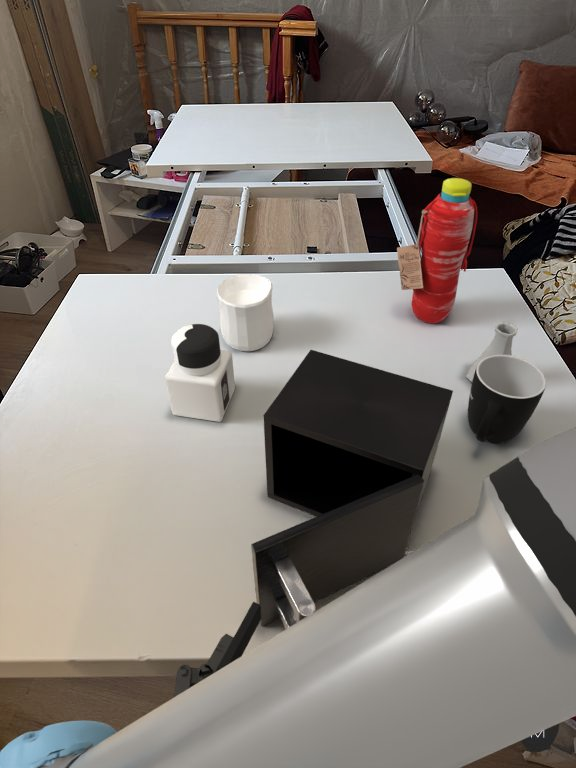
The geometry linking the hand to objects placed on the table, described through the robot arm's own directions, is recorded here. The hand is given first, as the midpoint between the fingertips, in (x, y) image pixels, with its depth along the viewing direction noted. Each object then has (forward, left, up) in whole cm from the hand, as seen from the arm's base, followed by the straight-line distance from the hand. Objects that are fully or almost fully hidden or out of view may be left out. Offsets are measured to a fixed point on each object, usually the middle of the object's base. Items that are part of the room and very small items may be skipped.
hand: (324, 641), depth 48 cm
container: (+39, -16, -8) cm, 43 cm away
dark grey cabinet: (+13, -20, -8) cm, 25 cm away
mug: (+5, -41, -8) cm, 42 cm away
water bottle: (+29, -59, -8) cm, 66 cm away
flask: (+11, -52, -8) cm, 54 cm away
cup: (+47, -32, -8) cm, 57 cm away
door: (+2, -7, -7) cm, 10 cm away
